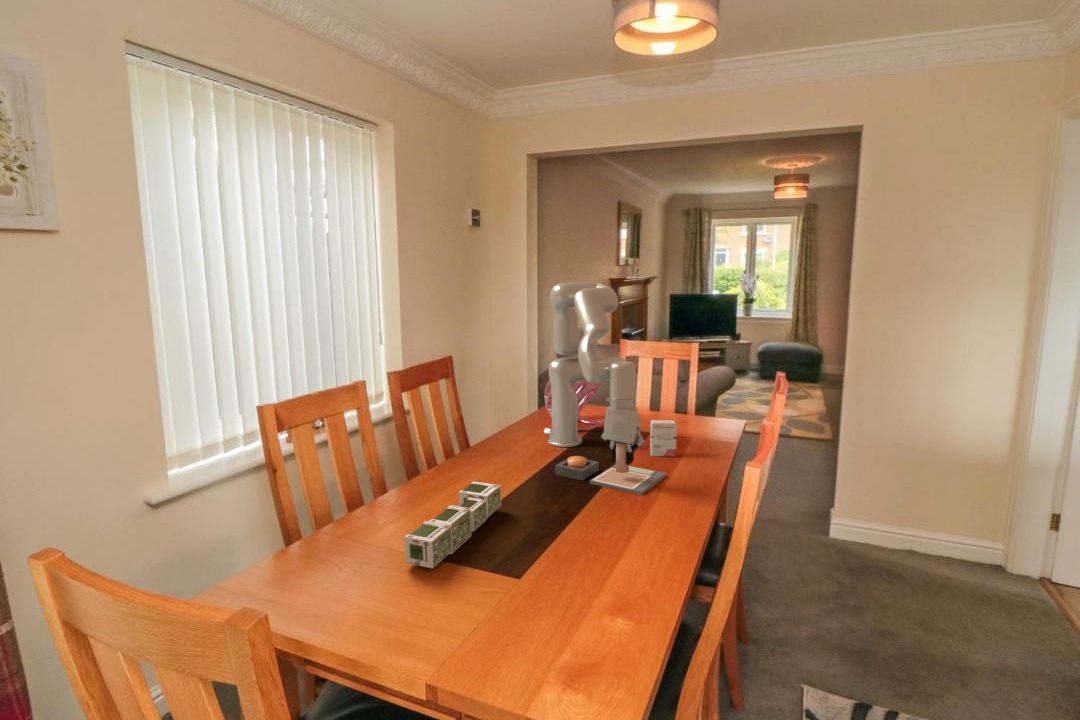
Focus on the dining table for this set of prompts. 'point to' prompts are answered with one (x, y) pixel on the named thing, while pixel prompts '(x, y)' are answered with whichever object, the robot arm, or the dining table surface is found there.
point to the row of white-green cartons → (452, 525)
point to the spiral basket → (580, 392)
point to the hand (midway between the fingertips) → (622, 461)
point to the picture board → (629, 479)
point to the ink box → (663, 437)
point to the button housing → (576, 470)
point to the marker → (621, 457)
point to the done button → (577, 461)
